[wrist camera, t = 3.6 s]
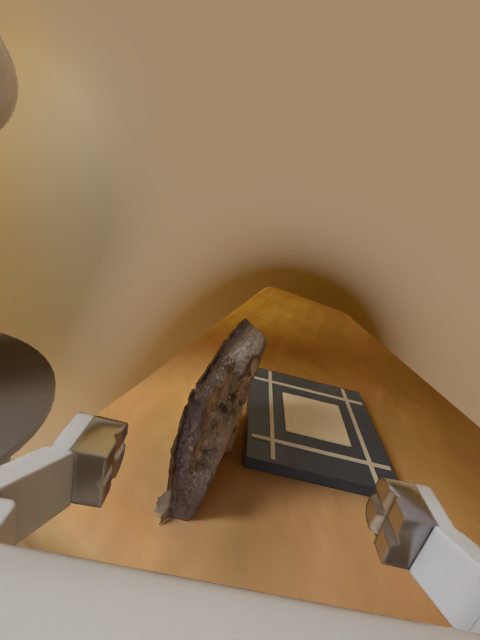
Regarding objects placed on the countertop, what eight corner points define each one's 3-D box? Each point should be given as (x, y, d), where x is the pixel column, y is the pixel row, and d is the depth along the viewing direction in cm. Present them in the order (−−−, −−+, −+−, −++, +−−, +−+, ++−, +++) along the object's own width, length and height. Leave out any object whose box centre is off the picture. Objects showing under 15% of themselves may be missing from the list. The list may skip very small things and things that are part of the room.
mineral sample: (213, 417, 45) (242, 309, 39) (242, 429, 44) (277, 321, 39) (145, 530, 30) (178, 380, 24) (189, 551, 29) (234, 402, 23)
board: (242, 466, 39) (246, 454, 38) (249, 373, 57) (252, 364, 56) (399, 504, 39) (405, 493, 39) (355, 399, 58) (359, 391, 57)
